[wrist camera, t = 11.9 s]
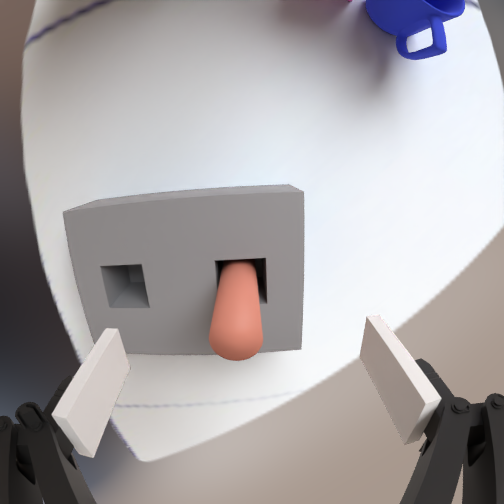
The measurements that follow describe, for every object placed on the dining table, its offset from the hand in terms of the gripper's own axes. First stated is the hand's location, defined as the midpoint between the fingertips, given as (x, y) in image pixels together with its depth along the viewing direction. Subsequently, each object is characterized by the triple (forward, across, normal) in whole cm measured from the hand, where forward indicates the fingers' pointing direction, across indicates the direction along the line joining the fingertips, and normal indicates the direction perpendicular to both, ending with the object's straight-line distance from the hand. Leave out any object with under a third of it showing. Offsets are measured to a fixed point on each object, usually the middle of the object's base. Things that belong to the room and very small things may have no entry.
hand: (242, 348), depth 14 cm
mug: (+17, +18, +25) cm, 36 cm away
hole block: (+16, -5, -1) cm, 17 cm away
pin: (+15, 0, -1) cm, 15 cm away
